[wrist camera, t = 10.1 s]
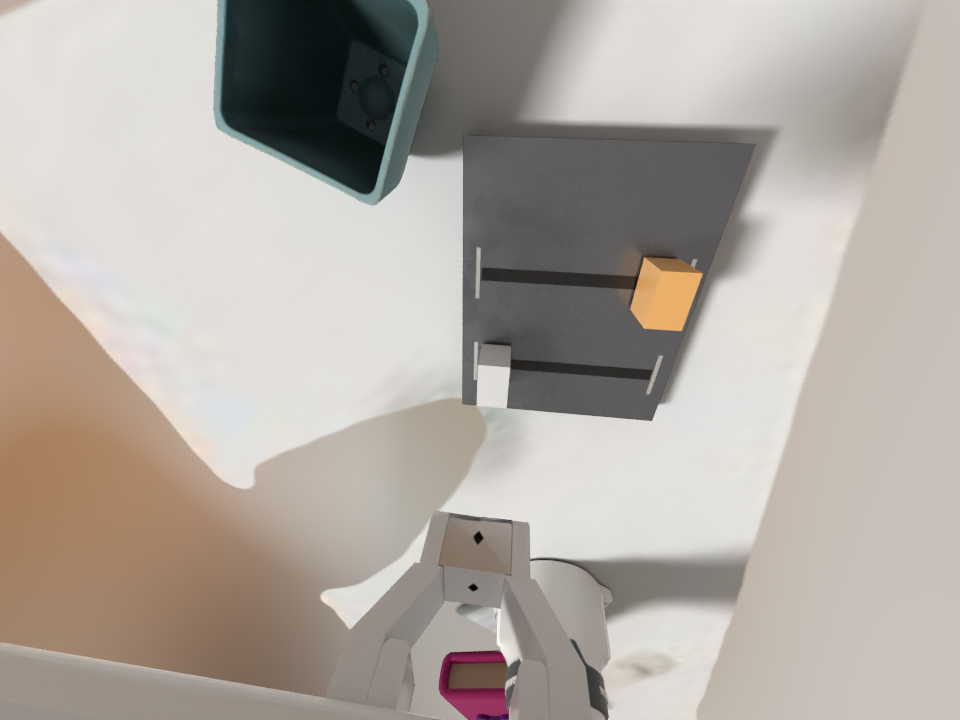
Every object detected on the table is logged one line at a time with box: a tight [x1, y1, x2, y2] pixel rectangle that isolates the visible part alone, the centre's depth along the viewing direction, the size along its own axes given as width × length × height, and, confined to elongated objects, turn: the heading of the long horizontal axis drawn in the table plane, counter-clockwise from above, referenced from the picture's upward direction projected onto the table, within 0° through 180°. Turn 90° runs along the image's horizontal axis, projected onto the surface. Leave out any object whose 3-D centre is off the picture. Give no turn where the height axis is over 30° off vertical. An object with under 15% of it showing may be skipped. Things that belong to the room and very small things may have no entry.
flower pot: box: [213, 0, 438, 205], centre depth 19 cm, size 9×9×9 cm
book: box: [439, 650, 509, 720], centre depth 70 cm, size 21×28×8 cm
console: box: [462, 135, 756, 421], centre depth 28 cm, size 22×18×2 cm
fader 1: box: [477, 344, 511, 408], centre depth 29 cm, size 4×2×4 cm, turn 178°
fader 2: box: [630, 257, 703, 331], centre depth 24 cm, size 4×2×4 cm, turn 178°
